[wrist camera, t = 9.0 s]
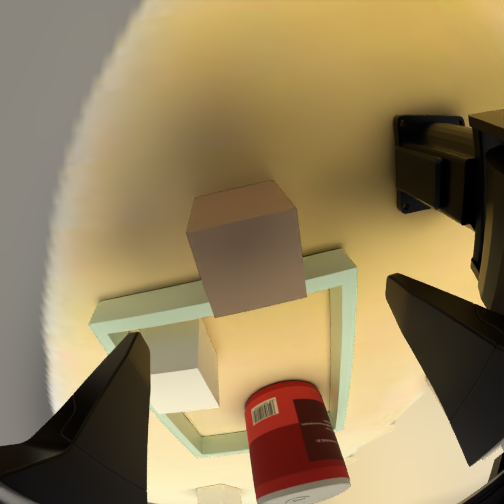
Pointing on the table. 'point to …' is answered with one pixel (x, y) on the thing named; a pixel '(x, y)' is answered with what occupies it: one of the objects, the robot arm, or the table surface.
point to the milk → (219, 495)
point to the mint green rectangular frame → (197, 306)
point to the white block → (182, 367)
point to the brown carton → (247, 248)
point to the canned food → (293, 446)
